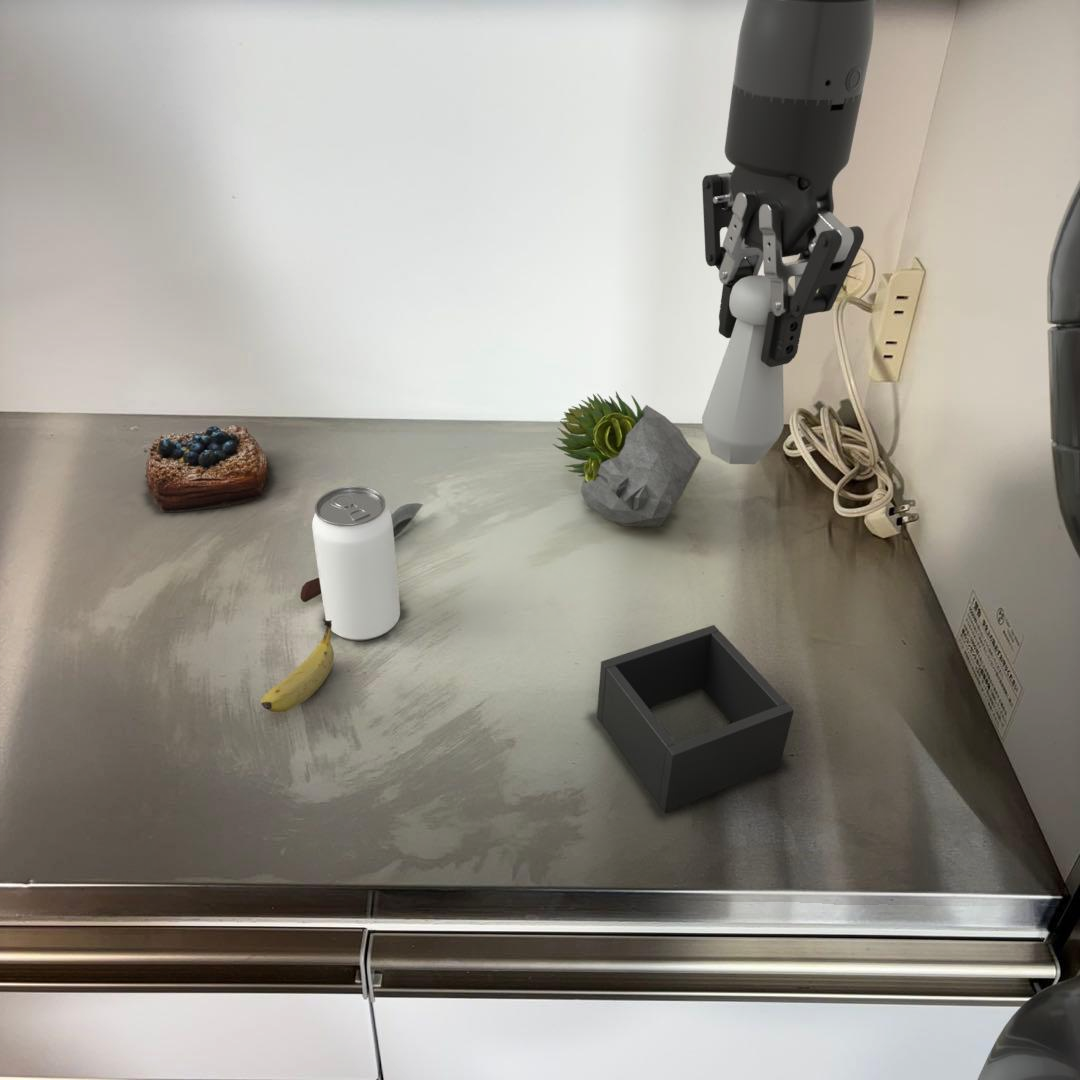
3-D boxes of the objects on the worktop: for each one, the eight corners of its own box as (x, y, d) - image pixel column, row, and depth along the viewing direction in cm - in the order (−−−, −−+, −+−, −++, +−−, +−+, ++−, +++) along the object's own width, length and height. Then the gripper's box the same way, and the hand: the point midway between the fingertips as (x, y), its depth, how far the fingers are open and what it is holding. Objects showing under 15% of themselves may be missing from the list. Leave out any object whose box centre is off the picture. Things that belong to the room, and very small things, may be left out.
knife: (417, 510, 99) (415, 485, 97) (430, 515, 98) (428, 490, 96) (298, 611, 85) (293, 585, 84) (311, 617, 85) (307, 590, 83)
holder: (780, 766, 72) (794, 709, 69) (664, 813, 68) (672, 755, 65) (705, 680, 79) (714, 624, 76) (596, 717, 76) (600, 661, 72)
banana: (286, 743, 73) (279, 705, 71) (258, 735, 74) (250, 698, 71) (347, 656, 81) (342, 620, 78) (321, 650, 81) (316, 614, 79)
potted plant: (645, 542, 89) (512, 461, 92) (659, 552, 101) (541, 480, 105) (715, 430, 88) (578, 352, 92) (720, 453, 101) (599, 384, 104)
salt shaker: (784, 472, 70) (819, 299, 62) (705, 471, 69) (730, 298, 62) (768, 431, 74) (798, 266, 67) (693, 431, 74) (715, 265, 67)
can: (375, 586, 88) (363, 474, 81) (415, 622, 84) (406, 508, 77) (312, 614, 85) (294, 500, 78) (350, 654, 81) (335, 537, 74)
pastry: (149, 464, 105) (137, 416, 101) (262, 447, 108) (254, 400, 105) (151, 519, 96) (138, 469, 93) (274, 499, 100) (266, 450, 96)
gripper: (678, 62, 61) (654, 319, 71) (826, 111, 50) (773, 404, 61) (775, 55, 64) (738, 303, 74) (934, 100, 53) (866, 382, 63)
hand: (754, 347), depth 67 cm, fingers closed on salt shaker, 4 cm apart
